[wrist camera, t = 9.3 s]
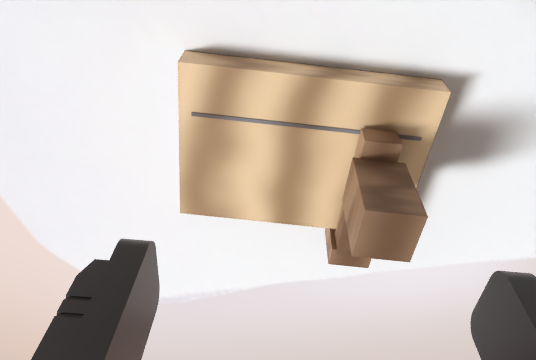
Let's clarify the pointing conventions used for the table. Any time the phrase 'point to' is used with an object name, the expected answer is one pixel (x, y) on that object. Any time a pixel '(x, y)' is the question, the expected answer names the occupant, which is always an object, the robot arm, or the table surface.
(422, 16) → the table surface
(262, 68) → the oak board
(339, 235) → the marking gauge
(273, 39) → the table surface
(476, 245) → the table surface
